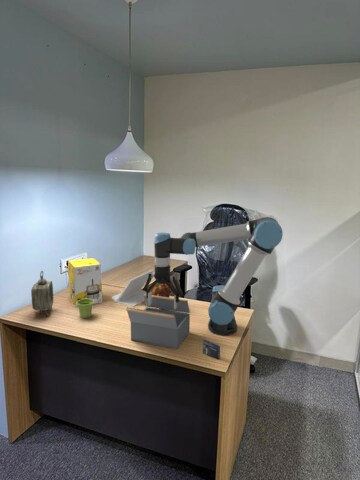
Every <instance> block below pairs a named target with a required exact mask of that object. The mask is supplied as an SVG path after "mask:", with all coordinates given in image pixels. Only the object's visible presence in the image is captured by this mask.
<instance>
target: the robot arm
mask: <svg viewBox="0 0 360 480" xmlns="http://www.w3.org/2000/svg"><path fill="white" fill-rule="evenodd" d="M283 233H284V232H283V228H282V227H281V225H280V223H279V222H278V221H277V220H276V219H275V218H274V217H269V216H264V217H261V218H257V219H253V220H248V221H246V223H242V224H235V225H230V226H229V225H228V226H223V227H218V228H212V229H207V230H201V231H196V232H195V231H194V232H190V231H189V232H185V233H184V234H182V235H181V236H180V237H171V233H169V232H158V233H156V234H155V235H154V243H153V245H154V272H152V273H150V274H149V276H148V280H147V281H146V283H145V284H144V286H143V287H142V290H143V291H146V297H147V298H148V306H150V305H151V304H152V291H153V289H154V287H156V285H157V284H159V285H162V284H166V285H167V286H169V289H170V291H171V293H173V298H174V309H176V308H177V303H178V302H179V299H180V297H181V296H182V295H183V294H184V293H183V290H182V288H181V286H180V283H179V282H178V281H179V280H178V277H177V274H174V275H171V255H175V254H176V255H186V256H188V255H189V256H190V255H195V253H196V250H197V249H196V248H199V247H205V246H212V245H219V244H224V243H230V242H237V241H243V240H247V244H248V246H247V248H246V249H245V251H244V253H243V255H242V257H241V258H240V260H239V261H238V262H237V263H238V264H237V265H236V267H235V268H234V270H233V271H232V273H231V275H230V276H229V278H228V280H227V282H226V284H225V285H222V284H221V285H215V286H213V287H212V291H211V292H212V294H211V296H212V297H211V301H210V304H209V306H208V317H209V321H208V323H207V329H208V331H209V332H210V333H213V334H215V335H219V336H230V335H233V334H235V333H237V331H238V324H237V321H236V317H235V312H236V311H237V310H238V307H239V306H240V304H241V300H240V298H241V296H242V295H243V293H244V291H245V290H246V288H247V286H248V285H249V283H250V281H252V279H253V277H254V275H255V273H256V271H257V270H258V268H259V267H260V265H261V263H262V262H263V261H264V259H265V257H266V256H268V255H272V252H273V251H274V250H275V248H276V247H277V246H278V245H280V243H281V241H282V240H283ZM153 278H154V279H155V280H154V281H153V282H152V280H153ZM151 282H152V283H151ZM150 283H151V285H150ZM149 285H150V286H149Z"/></svg>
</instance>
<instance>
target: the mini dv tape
mask: <svg viewBox="0 0 360 480" xmlns="http://www.w3.org/2000/svg"><path fill="white" fill-rule="evenodd" d="M202 354H203V355H205V356H207V357H210V358H213V359H215V360H220V359H221V345H218V344H216V343H214V342H211V341H208V340H203V341H202Z"/></svg>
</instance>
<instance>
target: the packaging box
mask: <svg viewBox="0 0 360 480" xmlns="http://www.w3.org/2000/svg"><path fill="white" fill-rule="evenodd" d="M67 263H68V264H67V265H68V268H67V269H68V280H69V281H68V283H69V285H68V286H69V297H70V301H71V303H72V304H73V305H74V307H75V308H78V305H77V301H78V300H81V299H92V300H94V302H93V305H96V304H101V303H103V291H102V290H103V289H102V288H103V287H102V264H101V262H99V261H98V260H97V259H95V258H93V257H92V258H91V257H90V258H83V259H74V260H68V261H67Z"/></svg>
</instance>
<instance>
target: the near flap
mask: <svg viewBox="0 0 360 480" xmlns="http://www.w3.org/2000/svg"><path fill="white" fill-rule="evenodd" d="M125 310H126V312H127V314H128V319H129V322H130V323H131V322H136V323H141V324H147V325H153V326H159V327H164V328H170V329H176V330H177V324H176V319H175V315H172V314H166V313H160V312H153V311H147V310H144V309H139V308H133V307H129V306H127V307H126V308H125Z"/></svg>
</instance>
